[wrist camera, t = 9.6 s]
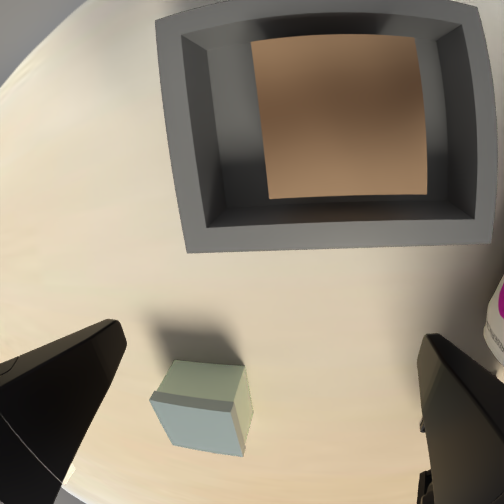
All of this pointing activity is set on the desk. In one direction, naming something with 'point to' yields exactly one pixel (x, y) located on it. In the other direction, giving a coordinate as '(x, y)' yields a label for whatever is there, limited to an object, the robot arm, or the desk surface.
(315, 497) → the desk surface
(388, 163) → the walnut block
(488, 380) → the robot arm
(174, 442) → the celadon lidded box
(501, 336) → the supplement can
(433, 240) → the tote
